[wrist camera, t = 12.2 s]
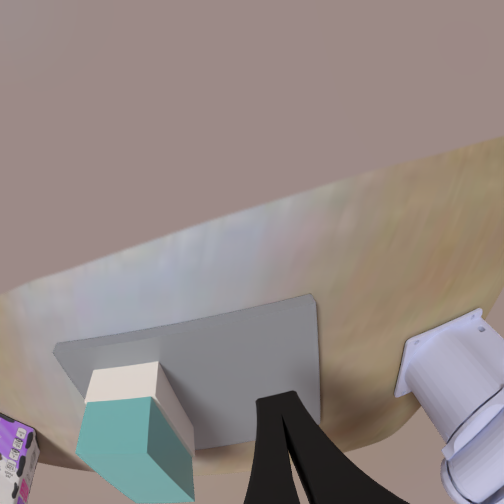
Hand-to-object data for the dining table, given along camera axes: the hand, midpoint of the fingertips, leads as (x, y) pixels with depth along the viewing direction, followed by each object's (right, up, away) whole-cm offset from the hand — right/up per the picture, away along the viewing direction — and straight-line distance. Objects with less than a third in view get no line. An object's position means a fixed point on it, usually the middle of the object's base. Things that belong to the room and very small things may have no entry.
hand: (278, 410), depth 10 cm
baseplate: (-5, -5, +12) cm, 14 cm away
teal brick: (-8, -7, +8) cm, 13 cm away
